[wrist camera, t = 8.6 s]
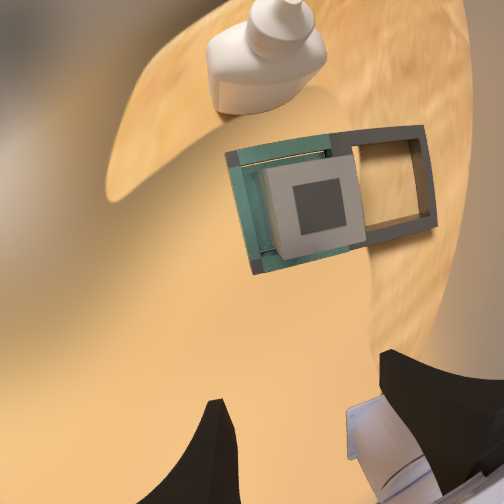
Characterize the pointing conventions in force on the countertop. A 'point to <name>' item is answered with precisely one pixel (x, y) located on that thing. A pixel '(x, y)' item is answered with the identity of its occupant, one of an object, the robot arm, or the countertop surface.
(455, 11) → the countertop surface
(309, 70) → the eye dropper bottle
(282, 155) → the grey flat frame
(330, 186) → the block
